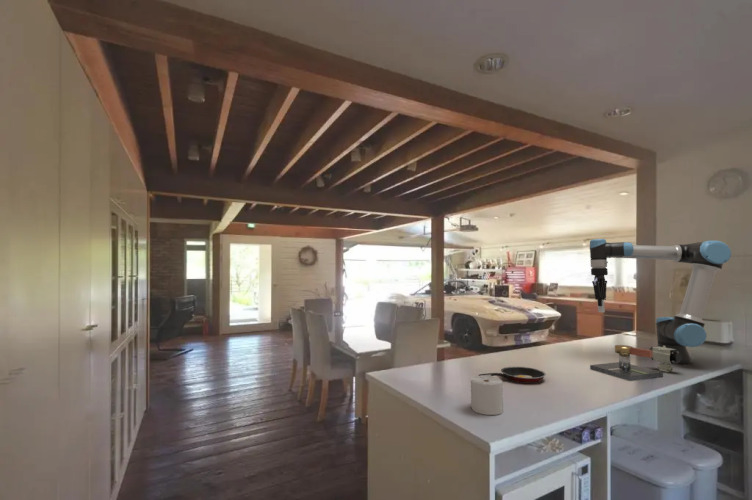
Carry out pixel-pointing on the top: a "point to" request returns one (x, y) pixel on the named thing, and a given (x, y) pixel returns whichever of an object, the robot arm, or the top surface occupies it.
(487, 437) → the top surface
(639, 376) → the grey plate with post
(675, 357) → the pneumatic valve
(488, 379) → the toilet tissue
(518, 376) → the frying pan
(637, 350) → the scoop with pink handle
